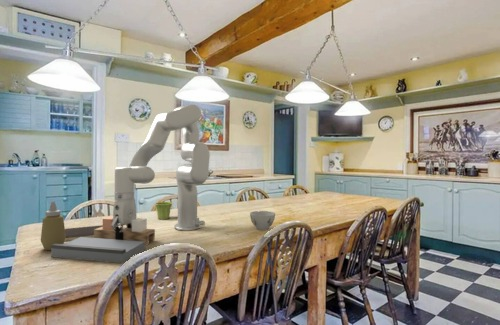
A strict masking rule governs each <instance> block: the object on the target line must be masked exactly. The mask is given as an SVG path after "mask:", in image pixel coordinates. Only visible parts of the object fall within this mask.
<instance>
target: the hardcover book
mask: <svg viewBox="0 0 500 325" xmlns="http://www.w3.org/2000/svg"><path fill="white" fill-rule="evenodd" d="M100 227H103V224H102V225H101V224H100V225H91V226H82V227H81V226H79V227H71V228H70V227H69V228H65V235H66V238H65V241H64V242H69V241H72V240H75V239H77V238H80V237H88V238H94V229H97V228H100Z"/></svg>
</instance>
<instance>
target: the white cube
mask: <svg viewBox="0 0 500 325" xmlns="http://www.w3.org/2000/svg"><path fill="white" fill-rule="evenodd" d="M147 220H148V219H147V218H143V217H141V218H140V217H138V218H137V217H136V219H134V220H132V231H133V232H142V231H144V230H146V229H148V228H147V226H148V223H147V222H148V221H147Z"/></svg>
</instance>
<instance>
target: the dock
mask: <svg viewBox="0 0 500 325" xmlns="http://www.w3.org/2000/svg"><path fill="white" fill-rule="evenodd" d="M145 250H146V245H145V242H143V241H129V240H115V239H101V238H88V237H80V238H77V239H75V240H71V241H66V242H64V244H52V245H51V250H50V254H51V257H52V258H61V259H73V260H82V261H83V260H84V261H85V260H86V261H94V260H95V261H97V262H106V261H108V263H117V262H120V263H119V264H123V263H126V262H127V261H128V259H129V258H130V257H132V256H133V255H135V254H137V255H138V254H140V253H141V252H143V251H145ZM135 256H136V255H135ZM133 257H134V256H133ZM133 257H132V258H133ZM130 259H131V258H130ZM130 259H129V260H130Z"/></svg>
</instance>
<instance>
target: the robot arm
mask: <svg viewBox="0 0 500 325" xmlns="http://www.w3.org/2000/svg"><path fill="white" fill-rule="evenodd" d="M201 118H202V110H201V108H200V107H199V106H198V105H196V104H186V105H181V106H177V107H175V108H174V109H173V110H172V111H165V112H161V113H158V114H157V115H156V116H155V118H154V120H153V122H152V125H151V127H150V129H149V131H148V134H147V136H146V138H145V140H144V142H143V143H142V144H141V145H140V147H139V149H138V150H137V151H136V153H134V155H133V157H132V160H131V161H130V164H129V166H119V167H115V168H114V203H113V211H112V212H113V213H112V217H113V222H112V224H111V226H112V228H113V229H114V232H115V240H123V232H122V230H123V227H124V226H126V227H127V228H132V220H134V219H137V204H136V199H135V184H141V185H142V184H143V185H145V184H149V183H151V182H153V180H154V179H155V176H156V174H155V171H154V170H153V169H152V167H149V166H148V164H149V162H150V161H151V159H152V158H154V157H155V156H156V155H158V154H159V153H160V152H162V151H163V150H164V148H165V146H166V143H167V141H168V139H169V136H170V134H171V132H172V131H178V130H181V146H180V157H181V159H182V161H183V160H184V161H185V162H191V164H189V163H186V164H185V163H183V164H181V165H180V166H179V167H177V170H176V171H175V179H176V183H177V223H176V224H175V225H174V229H175V230H178V231H194V230H198V229H200V227H201V226H205V225H206V223H205V220H200V217H198V188H197V185H198V186H199V185H200V186H201V185H203V184H204V183H205V182H206V181H207V180H208V177H209V168H210V156H211V155H210V154H211V153H210V150H209V147H208V145H207V144H206V143H205V142H201V141H200V129H199V126H198V125H197V123H198V122H199V121H200V119H201ZM119 227H120V228H119Z"/></svg>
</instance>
